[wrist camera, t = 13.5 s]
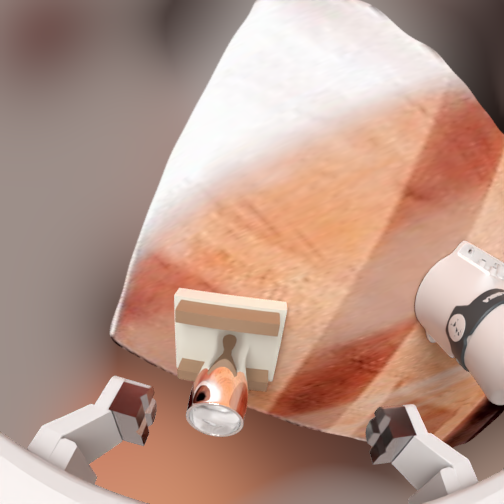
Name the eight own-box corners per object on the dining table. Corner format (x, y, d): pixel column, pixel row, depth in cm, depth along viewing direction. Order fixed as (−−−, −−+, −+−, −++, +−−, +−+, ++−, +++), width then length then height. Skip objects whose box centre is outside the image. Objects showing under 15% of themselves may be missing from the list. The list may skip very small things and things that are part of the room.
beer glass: (220, 366, 44) (204, 440, 30) (198, 334, 42) (172, 407, 28) (260, 354, 43) (255, 432, 28) (240, 319, 41) (226, 396, 27)
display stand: (286, 301, 42) (288, 322, 37) (272, 371, 47) (272, 394, 42) (179, 287, 42) (167, 305, 37) (180, 358, 47) (172, 379, 42)
